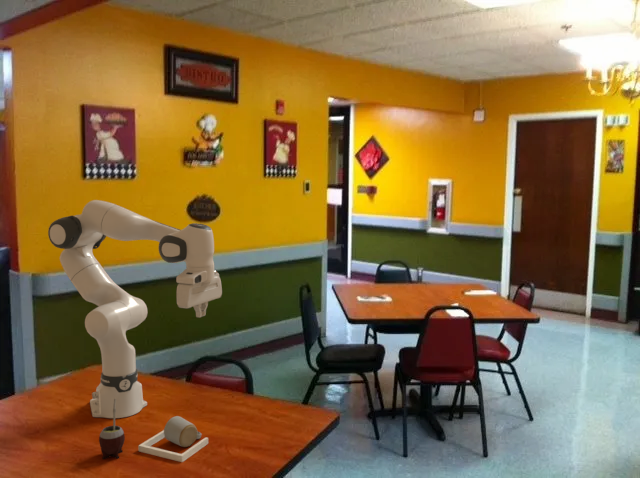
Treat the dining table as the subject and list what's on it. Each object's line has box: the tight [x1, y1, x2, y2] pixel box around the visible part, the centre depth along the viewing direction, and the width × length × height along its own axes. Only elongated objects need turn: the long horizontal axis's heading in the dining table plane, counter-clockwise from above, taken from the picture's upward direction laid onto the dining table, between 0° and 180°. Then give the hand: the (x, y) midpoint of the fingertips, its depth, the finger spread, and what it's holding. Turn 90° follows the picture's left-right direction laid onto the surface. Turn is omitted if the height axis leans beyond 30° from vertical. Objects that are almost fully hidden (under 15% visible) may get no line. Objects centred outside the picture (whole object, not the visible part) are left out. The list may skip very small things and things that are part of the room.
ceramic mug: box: [163, 415, 203, 448], centre depth 180 cm, size 11×8×8 cm
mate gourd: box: [98, 399, 126, 460], centre depth 171 cm, size 8×8×15 cm
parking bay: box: [137, 429, 209, 463], centre depth 176 cm, size 16×13×2 cm
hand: (200, 316), depth 188 cm, fingers closed
